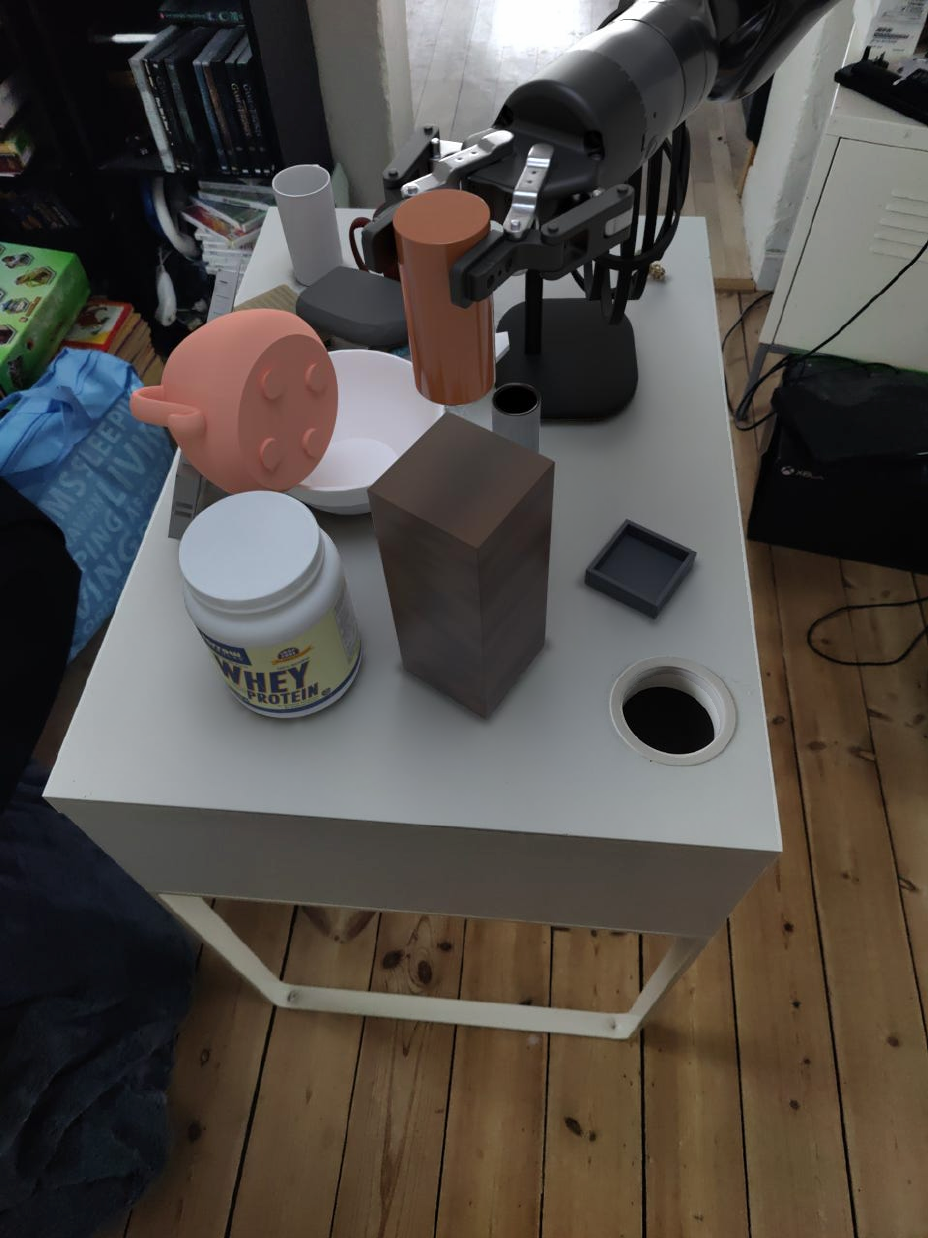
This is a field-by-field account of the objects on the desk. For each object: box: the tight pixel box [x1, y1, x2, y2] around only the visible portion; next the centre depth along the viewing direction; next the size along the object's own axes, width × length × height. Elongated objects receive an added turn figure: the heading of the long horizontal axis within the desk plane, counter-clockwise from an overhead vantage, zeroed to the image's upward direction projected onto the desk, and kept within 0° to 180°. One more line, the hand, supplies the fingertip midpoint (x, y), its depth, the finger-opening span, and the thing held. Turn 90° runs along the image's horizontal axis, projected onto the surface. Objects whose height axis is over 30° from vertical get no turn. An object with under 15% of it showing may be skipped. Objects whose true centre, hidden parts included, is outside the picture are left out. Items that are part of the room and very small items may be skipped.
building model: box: [167, 252, 243, 541], centre depth 84 cm, size 25×18×2 cm
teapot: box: [129, 309, 338, 495], centre depth 73 cm, size 22×16×12 cm
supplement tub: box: [177, 491, 363, 719], centre depth 69 cm, size 12×12×17 cm
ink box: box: [233, 283, 335, 351], centre depth 100 cm, size 10×4×8 cm
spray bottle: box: [296, 266, 509, 363], centre depth 94 cm, size 3×11×24 cm
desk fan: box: [494, 0, 692, 421], centre depth 82 cm, size 27×18×35 cm, turn 178°
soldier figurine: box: [632, 245, 667, 281], centre depth 104 cm, size 2×1×4 cm
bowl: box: [284, 348, 445, 516], centre depth 85 cm, size 19×20×8 cm
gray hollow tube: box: [491, 383, 541, 454], centre depth 83 cm, size 4×4×10 cm
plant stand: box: [367, 410, 556, 720], centre depth 66 cm, size 9×9×23 cm
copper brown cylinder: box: [393, 189, 496, 407], centre depth 46 cm, size 5×5×10 cm
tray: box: [584, 518, 698, 620], centre depth 79 cm, size 7×7×2 cm
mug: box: [271, 164, 345, 287], centre depth 105 cm, size 10×7×12 cm, turn 169°
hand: (412, 272), depth 42 cm, fingers closed on copper brown cylinder, 5 cm apart
